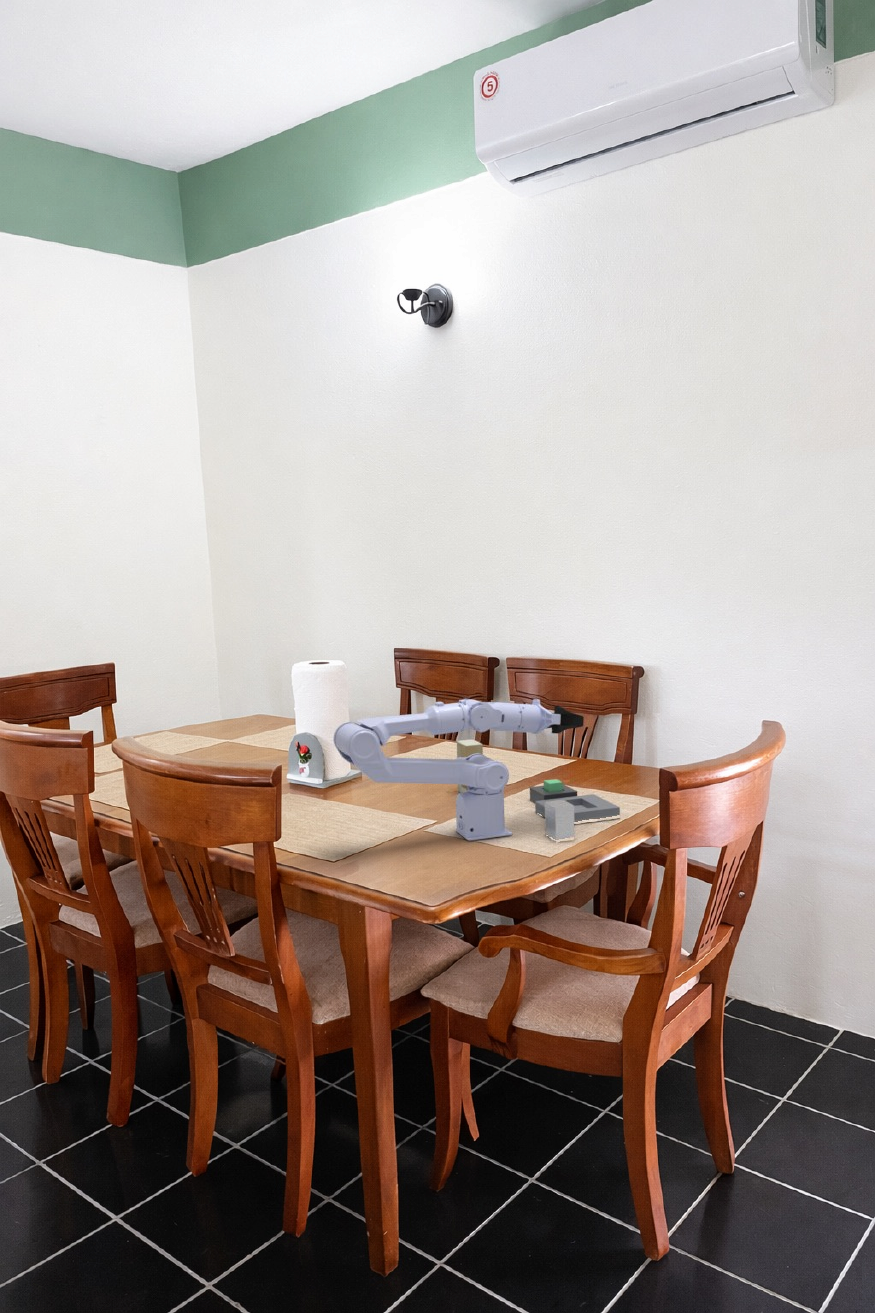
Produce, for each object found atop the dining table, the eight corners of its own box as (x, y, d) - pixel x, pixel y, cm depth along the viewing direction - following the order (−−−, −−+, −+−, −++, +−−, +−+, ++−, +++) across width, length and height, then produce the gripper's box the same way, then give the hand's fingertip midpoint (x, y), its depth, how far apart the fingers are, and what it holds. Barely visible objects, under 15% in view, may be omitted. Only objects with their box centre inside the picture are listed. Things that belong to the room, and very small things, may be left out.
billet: (555, 842, 194) (555, 807, 193) (545, 836, 199) (544, 801, 198) (574, 840, 195) (574, 805, 194) (563, 833, 200) (563, 799, 199)
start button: (549, 792, 221) (549, 783, 221) (543, 789, 224) (543, 780, 224) (562, 791, 222) (562, 782, 222) (556, 787, 225) (556, 779, 225)
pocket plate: (558, 826, 205) (558, 815, 204) (535, 812, 216) (535, 801, 216) (619, 818, 209) (619, 807, 208) (593, 805, 220) (593, 794, 220)
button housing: (544, 808, 219) (544, 795, 218) (530, 800, 226) (529, 787, 226) (577, 804, 221) (577, 791, 221) (562, 796, 229) (561, 783, 228)
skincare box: (457, 791, 237) (455, 740, 235) (473, 788, 238) (472, 738, 237) (467, 797, 231) (465, 745, 230) (484, 794, 232) (483, 743, 231)
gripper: (533, 697, 196) (592, 701, 201) (499, 698, 209) (555, 702, 214) (532, 733, 195) (591, 736, 201) (498, 732, 208) (554, 735, 214)
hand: (572, 721), depth 207 cm, fingers open, 7 cm apart
